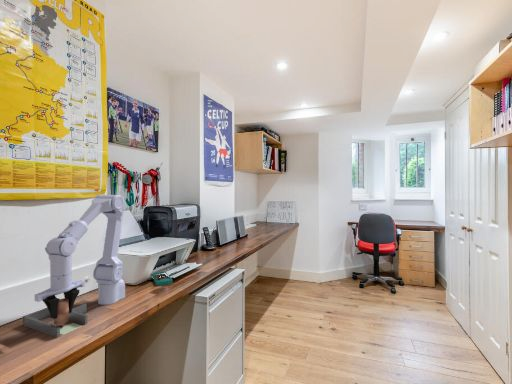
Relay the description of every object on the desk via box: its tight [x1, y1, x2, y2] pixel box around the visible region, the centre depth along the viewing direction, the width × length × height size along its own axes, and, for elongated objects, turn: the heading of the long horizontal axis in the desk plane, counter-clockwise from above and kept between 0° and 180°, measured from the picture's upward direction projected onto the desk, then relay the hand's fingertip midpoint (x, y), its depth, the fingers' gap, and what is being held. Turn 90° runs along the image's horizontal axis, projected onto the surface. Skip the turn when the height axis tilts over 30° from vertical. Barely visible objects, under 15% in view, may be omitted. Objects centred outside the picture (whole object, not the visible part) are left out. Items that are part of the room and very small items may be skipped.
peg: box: [53, 297, 70, 326], centre depth 91 cm, size 4×4×7 cm
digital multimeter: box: [151, 271, 173, 287], centre depth 139 cm, size 7×15×3 cm, turn 31°
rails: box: [22, 303, 89, 339], centre depth 95 cm, size 15×18×3 cm
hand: (61, 314), depth 91 cm, fingers closed on peg, 4 cm apart
